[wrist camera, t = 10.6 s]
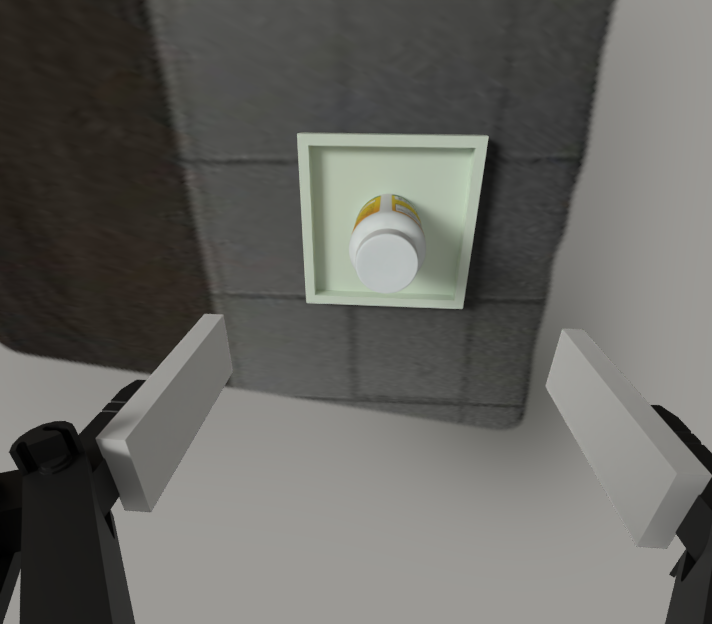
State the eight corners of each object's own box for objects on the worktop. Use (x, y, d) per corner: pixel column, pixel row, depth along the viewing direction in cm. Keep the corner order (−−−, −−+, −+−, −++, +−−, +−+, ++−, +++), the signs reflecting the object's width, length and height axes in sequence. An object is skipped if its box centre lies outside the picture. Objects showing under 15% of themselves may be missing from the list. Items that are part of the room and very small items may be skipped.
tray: (301, 132, 31) (297, 133, 29) (483, 134, 30) (488, 136, 28) (309, 294, 37) (306, 303, 36) (459, 300, 36) (462, 309, 35)
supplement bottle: (420, 190, 32) (432, 220, 23) (419, 254, 34) (430, 302, 25) (353, 194, 32) (341, 224, 23) (357, 256, 34) (347, 304, 26)
